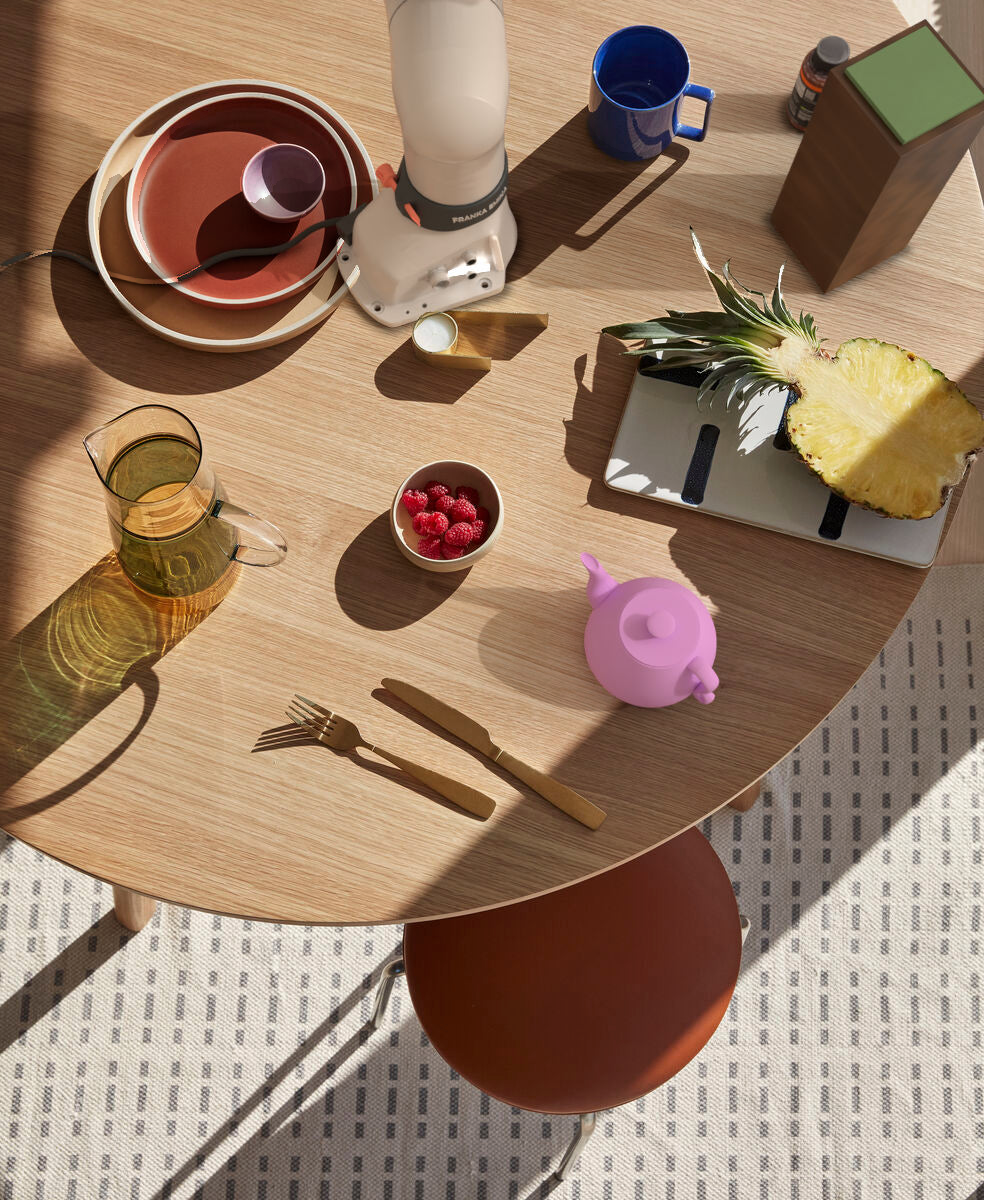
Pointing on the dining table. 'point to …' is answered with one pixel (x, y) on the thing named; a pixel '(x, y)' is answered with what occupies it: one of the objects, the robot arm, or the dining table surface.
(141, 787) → the dining table surface
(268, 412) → the dining table surface
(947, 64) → the green mat
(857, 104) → the walnut stand
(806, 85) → the supplement bottle
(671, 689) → the teapot
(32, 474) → the dining table surface
